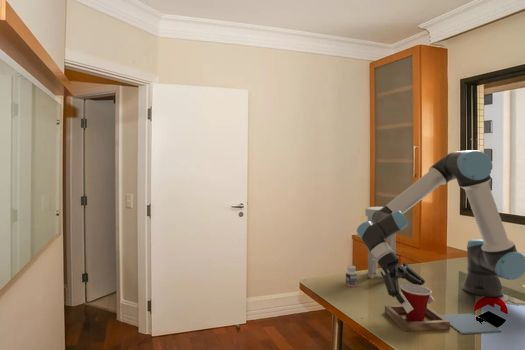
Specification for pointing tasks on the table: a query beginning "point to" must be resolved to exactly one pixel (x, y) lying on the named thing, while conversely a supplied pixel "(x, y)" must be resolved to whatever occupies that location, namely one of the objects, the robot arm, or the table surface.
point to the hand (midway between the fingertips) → (421, 306)
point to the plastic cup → (416, 300)
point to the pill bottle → (351, 276)
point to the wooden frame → (418, 325)
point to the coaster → (469, 324)
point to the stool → (371, 260)
